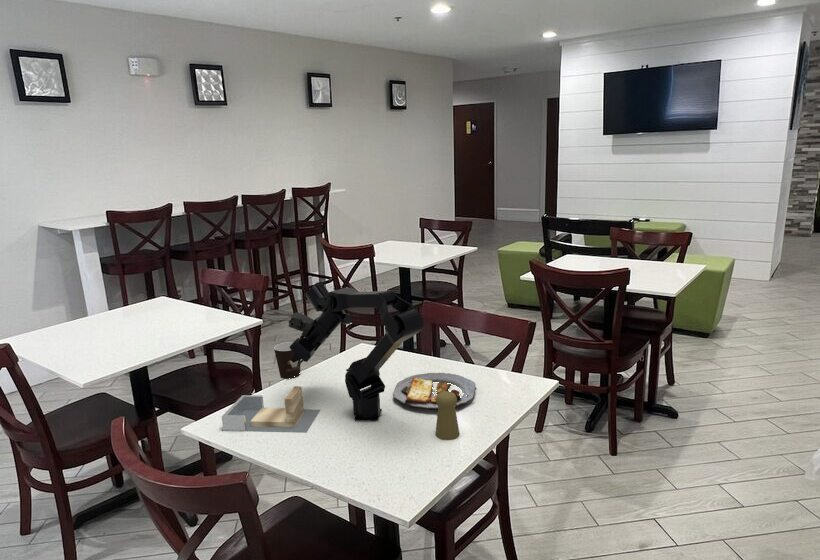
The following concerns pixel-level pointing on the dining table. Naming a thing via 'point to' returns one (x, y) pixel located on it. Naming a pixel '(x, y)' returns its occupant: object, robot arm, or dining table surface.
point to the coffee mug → (286, 361)
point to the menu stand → (282, 412)
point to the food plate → (420, 389)
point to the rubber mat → (299, 428)
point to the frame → (241, 412)
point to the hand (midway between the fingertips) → (292, 361)
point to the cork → (446, 416)
